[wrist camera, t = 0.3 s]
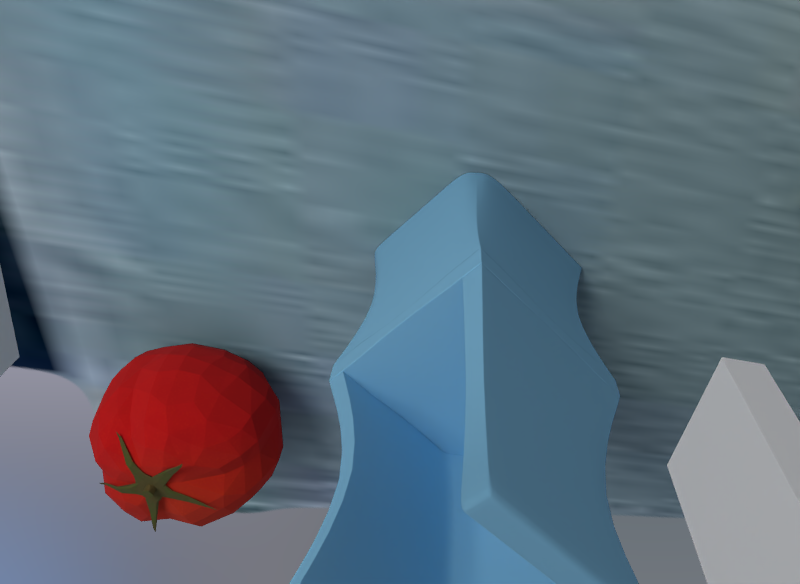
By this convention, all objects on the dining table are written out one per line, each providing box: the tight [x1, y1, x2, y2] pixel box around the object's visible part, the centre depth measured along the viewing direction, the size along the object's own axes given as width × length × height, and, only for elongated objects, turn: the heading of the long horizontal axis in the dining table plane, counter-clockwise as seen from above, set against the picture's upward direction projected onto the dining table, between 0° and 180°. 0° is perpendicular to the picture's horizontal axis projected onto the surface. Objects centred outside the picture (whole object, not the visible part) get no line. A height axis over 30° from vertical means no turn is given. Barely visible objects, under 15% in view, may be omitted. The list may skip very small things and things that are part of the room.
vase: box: [289, 172, 639, 584], centre depth 32 cm, size 10×10×25 cm
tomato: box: [89, 343, 283, 531], centre depth 45 cm, size 13×12×11 cm
